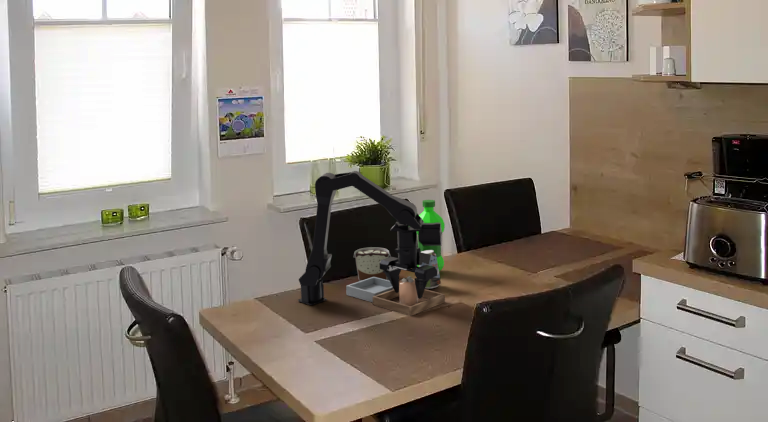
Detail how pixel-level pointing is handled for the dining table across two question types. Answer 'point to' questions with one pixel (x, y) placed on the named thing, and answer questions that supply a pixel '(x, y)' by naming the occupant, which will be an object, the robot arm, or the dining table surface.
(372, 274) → the food container
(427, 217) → the plastic bottle
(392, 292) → the brown wooden tray
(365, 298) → the tray
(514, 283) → the dining table surface
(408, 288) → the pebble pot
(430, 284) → the beverage can
